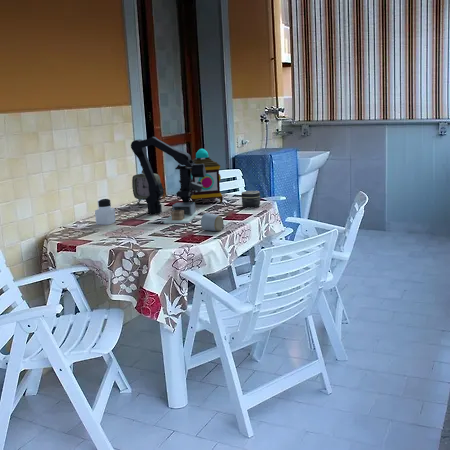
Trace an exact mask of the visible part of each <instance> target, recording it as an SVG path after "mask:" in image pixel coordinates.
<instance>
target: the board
mask: <svg viewBox="0 0 450 450" xmlns="http://www.w3.org/2000/svg"><path fill="white" fill-rule="evenodd" d="M198 215H199V212H198V211H196V212H195V213H194V214H193V215H190V212H184V219H183V220H172V214H171V215H170V216H169V217H167V218H165V220H163V224H166V225H167V224H189V223H190V222H191V221H193V219H195V218H196V216H198Z"/></svg>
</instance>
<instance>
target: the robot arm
mask: <svg viewBox="0 0 450 450" xmlns="http://www.w3.org/2000/svg"><path fill="white" fill-rule="evenodd" d="M149 146H153V147H155V148H157V149H158V150H160V151H162V152H164V153H165V154H166V155H169V156H170V157H171V158H172V159H173V160H175V162H176V163H178V164H177V166H176V167H175V170H179V180H178V182H179V184H180V185H179V186H180V187H179V190H178V191H177V192H176V198H181V200H182V202H191V199H190V197H191V196H192V195H193V194H194V193H191V192H190V191H194V192H195V191H197V192H201V190H202V188H203V185H202V182H200V181H198V182H197V183H196V182H193V180H192V179H191V175H192V176H193V177H194V178H198V177H205V176H206V170H205V166H204V164H195V163H194V162H193V161H192V160H193V159H192V157H191V154H190V153H188V152H185V151H183V150H179V149H176V148H175V147H173V146H171V145H170V144H168V143H166V142H164V141H162V140H160V139H158V138H157V137H156V136H151V137H149V138H145V139H140V138H139V139H136V140H133V141H132V142H131V143H130V148H131V150H132V152H133V154H134V155H135V156H136V157H137V158H138V161H139V163H140V164H141V165H140V164H139V165H140V167H141V166H142V167H141V168H142V170H143V171H144V174H145V177H146V179H147V182H148V190H149V196H148V197H147V198H146V200H145V202H146V206H147V208H146V209H147V213H146V215H160V214H161V213H162V212H163V208H162V203H161V199H162V197H163V195H164V193H165V191H164V190H165V189H164V186H163V183H162V182H161V183H160V184H159V183H158V182H157V181H156V178H155V176H154V171H153V168H152V165H151V163H150V161H149V158H148V154H147V147H149Z"/></svg>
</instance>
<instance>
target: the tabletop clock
mask: <svg viewBox="0 0 450 450" xmlns="http://www.w3.org/2000/svg"><path fill="white" fill-rule="evenodd" d="M139 165H140V167H141V168H142V166H141V164H139ZM153 173H154V172H153ZM154 176H155V178H156V181H157V182H158V183H159V184H160V183H162V182H161V176H160V175H159V174H157V173H154ZM131 181H132V182H131V186H132V187H131V188H132V192H133V193H132V194H133V196H134V198H135V199H137V200H138V201H136V205H140V202H141V201H142V200H143V201H146V198H147V197H148V196H149V190H148V182H147V179H146V177H145V174H144V171H143V169H142V170H141V173H138V174H134V175H132V179H131Z"/></svg>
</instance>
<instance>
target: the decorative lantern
mask: <svg viewBox="0 0 450 450" xmlns="http://www.w3.org/2000/svg"><path fill="white" fill-rule="evenodd" d="M192 161H193V162H194V163H195V164H204V166H205V170H206V176H205V177H198V178H194V177H193V176H192V175H191V179H192V180H193V182H196V183H197V182H198V181H200V182H202V185H203V188H202V190H201V192H197V191H195V192H194V191H190V192H191V193H194V194H193V195H192V196H191V197H190V200H191V202H195V203H196V201H198V200H199V201H200V200H208V199H209V200H210V199H219V202H220V203H223V197H224V196H223V195H222V193H221V186H220V182H221V180H222V179H221V178H222V177H221V174H220V169H221V165H220V164H219V163H218V162H217V161H215V160H212V158H211V157H209V153H208V151H207V150H206V149H205V148H199V149H198V150H197V152H195V157H194V158H193V159H192Z"/></svg>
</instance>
